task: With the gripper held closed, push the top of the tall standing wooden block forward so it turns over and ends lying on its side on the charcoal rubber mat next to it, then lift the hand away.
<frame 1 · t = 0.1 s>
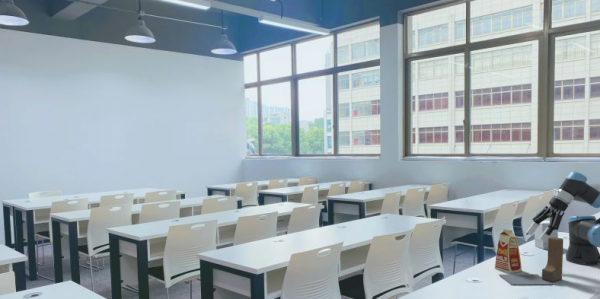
hand: (535, 237, 204), 15 cm above the table, tool tilted 35°, fingers open, 13 cm apart
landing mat: (524, 280, 188), on the table
milk carton: (508, 269, 204), on the table
wooden block: (551, 279, 186), on the table
supplement box: (546, 247, 245), on the table
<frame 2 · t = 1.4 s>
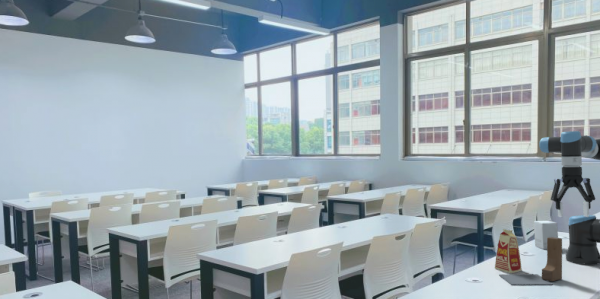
hand: (573, 216, 186), 28 cm above the table, tool pointing down, fingers open, 10 cm apart
wooden block: (551, 279, 186), on the table, touching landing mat
everything else where it was.
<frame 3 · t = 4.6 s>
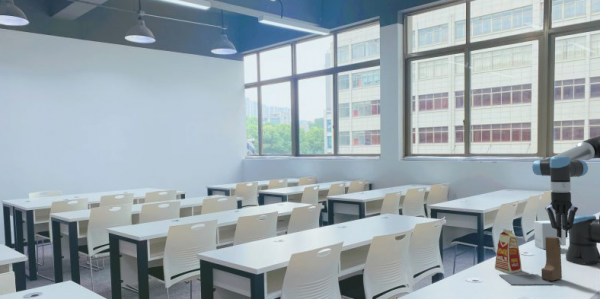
hand: (562, 244, 186), 16 cm above the table, tool pointing down, fingers closed
nothing on the table moved.
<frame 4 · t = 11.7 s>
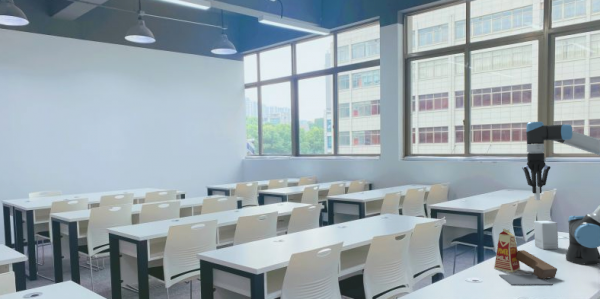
hand: (537, 199, 211), 32 cm above the table, tool pointing down, fingers closed
milk carton: (507, 269, 206), on the table, touching wooden block
wooden block: (550, 274, 187), point 2 cm above the table, touching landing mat, milk carton
everything else where it was.
at the end: wooden block tilted 74°; wooden block inside the target area (4.0 cm from its centre), point 2.4 cm above the table; the gripper is holding nothing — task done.
